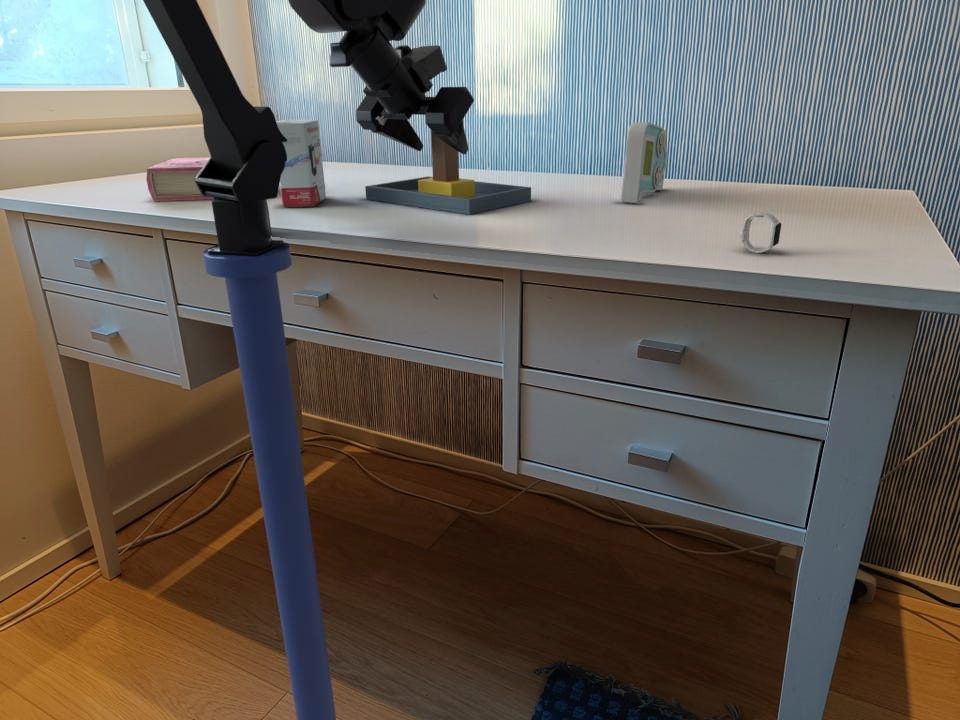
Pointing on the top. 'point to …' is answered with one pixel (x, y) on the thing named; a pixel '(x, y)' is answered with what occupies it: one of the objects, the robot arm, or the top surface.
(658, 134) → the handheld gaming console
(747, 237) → the smartwatch
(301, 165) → the ink box
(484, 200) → the tray
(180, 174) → the book
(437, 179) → the sponge brush
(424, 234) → the top surface
